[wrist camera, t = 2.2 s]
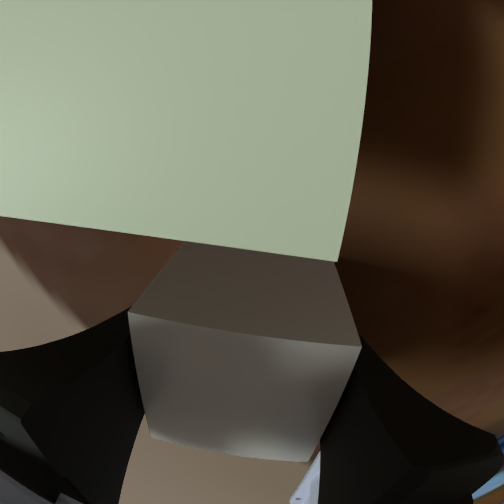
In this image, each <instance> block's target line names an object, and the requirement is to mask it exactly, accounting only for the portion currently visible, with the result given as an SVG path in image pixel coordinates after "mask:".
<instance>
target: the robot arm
mask: <svg viewBox="0 0 504 504" xmlns="http://www.w3.org/2000/svg"><path fill="white" fill-rule="evenodd" d="M131 307H132V306H131ZM131 307H130V308H131ZM130 308H128V309H126V310H124V311H123V312H121V313H119V314H117V315H115V316H113V317H111V318H110V319H108V320H106V321H104V322H102V323H100V324H98V325H96V326H94V327H91V328H89V329H87V330H85V331H82V332H80V333H77V334H75V335H72V336H69V337H66V338H64V339H60V340H57V341H54V342H50V343H47V344H43V345H39V346H35V347H30V348H25V349H19V350H13V351H6V352H0V504H118V503H119V498H120V494H121V489H122V484H123V480H124V476H125V473H126V469H127V465H128V462H129V458H130V455H131V452H132V448H133V445H134V442H135V439H136V435H137V433H138V430H139V427H140V424H141V421H142V419H143V416H144V414H145V411H144V406H143V402H142V397H141V392H140V387H139V382H138V377H137V371H136V366H135V360H134V354H133V348H132V341H131V334H130V327H129V319H128V311H129V309H130ZM358 335H359V339H360V342H361V345H362V348H361V350H360V353H359V355H358V358H357V360H356V363H355V365H354V368H353V370H352V372H351V375H350V377H349V379H348V382H347V384H346V386H345V389H344V391H343V393H342V395H341V397H340V400H339V402H338V404H337V406H336V408H335V410H334V412H333V414H332V416H331V418H330V421H329V423H328V425H327V427H326V429H325V430H324V432H323V434H322V436H321V438H320V452H319V453H318V455H317V457H316V458H315V460H314V462H313V464H312V465H311V467H310V469H309V470H308V472H307V473H306V475H305V477H304V478H303V480H302V481H301V483H300V485H299V486H298V488H297V489H296V491H295V492H294V494H293V496H292V497H291V499H290V503H291V504H473V503H474V502H473V498H472V495H471V494H473V493H474V492H475V491H477V490H478V489H479V488H480V487H481V486H483V485H484V484H485V483H486V482H487V481H489V480H490V479H491V478H492V477H493V476H494V475H495V474H496V473H497V472H498V471H499V470H500V468H501V467H502V465H503V463H504V455H503V453H502V451H501V448H500V446H499V443H498V441H497V439H496V437H495V435H494V434H491V433H489V432H486V431H484V430H482V429H479V428H477V427H474V426H472V425H470V424H468V423H466V422H464V421H462V420H460V419H458V418H456V417H454V416H453V415H451V414H449V413H447V412H446V411H444V410H442V409H441V408H439V407H438V406H436V405H435V404H433V403H432V402H430V401H429V400H427V399H426V398H425V397H423V396H422V395H421V394H419V393H418V392H417V391H415V390H414V389H413V388H412V387H411V386H409V385H408V384H407V383H406V382H405V381H403V380H402V379H401V378H400V377H399V376H398V375H397V374H396V373H395V372H394V371H393V370H392V369H391V368H390V367H389V366H388V365H387V364H386V363H385V362H384V361H383V360H382V359H381V358H380V357H379V356H378V355H377V354H376V353H375V352H374V351H373V350H372V348H371V347H370V346H369V345H368V344H367V343H366V341H365V340H364V339H363V338H362V337H361V336H360V334H359V333H358ZM498 504H504V500H503V501H501V502H500V503H498Z"/></svg>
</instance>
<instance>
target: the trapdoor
mask: <svg viewBox="0 0 504 504" xmlns="http://www.w3.org/2000/svg"><path fill="white" fill-rule="evenodd" d="M371 23H372V0H0V216H5V217H13V218H20V219H28V220H35V221H42V222H50V223H57V224H65V225H72V226H79V227H87V228H94V229H102V230H109V231H116V232H124V233H131V234H138V235H146V236H153V237H160V238H168V239H175V240H182V241H189V242H197V243H204V244H211V245H219V246H226V247H233V248H240V249H248V250H255V251H262V252H269V253H277V254H284V255H291V256H298V257H305V258H313V259H320V260H327V261H334V262H337V261H338V256H339V252H340V247H341V243H342V238H343V234H344V229H345V224H346V219H347V214H348V209H349V204H350V199H351V193H352V188H353V182H354V176H355V170H356V164H357V158H358V152H359V145H360V138H361V131H362V123H363V116H364V107H365V99H366V89H367V79H368V68H369V56H370V42H371Z"/></svg>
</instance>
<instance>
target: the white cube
mask: <svg viewBox="0 0 504 504" xmlns="http://www.w3.org/2000/svg"><path fill="white" fill-rule="evenodd" d="M128 319H129V327H130V334H131V341H132V348H133V354H134V360H135V366H136V371H137V377H138V382H139V387H140V392H141V397H142V402H143V406H144V411H145V415H146V419H147V423H148V428H149V432H150V436H151V437H152V438H156V439H160V440H164V441H167V442H172V443H175V444H179V445H184V446H189V447H193V448H198V449H202V450H208V451H213V452H219V453H225V454H232V455H237V456H245V457H253V458H261V459H271V460H283V461H299V462H308V460H309V459H310V457H311V455H312V453H313V451H314V450H315V448H316V446H317V444H318V442H319V440H320V438H321V436H322V434H323V432H324V430H325V429H326V427H327V425H328V423H329V421H330V418H331V416H332V414H333V412H334V410H335V408H336V406H337V404H338V402H339V400H340V397H341V395H342V393H343V391H344V389H345V386H346V384H347V382H348V379H349V377H350V375H351V372H352V370H353V368H354V365H355V363H356V360H357V358H358V355H359V353H360V350H361V348H362V345H361V342H360V339H359V335H358V332H357V329H356V326H355V323H354V320H353V317H352V313H351V310H350V307H349V304H348V301H347V298H346V295H345V293H344V290H343V287H342V284H341V281H340V278H339V275H338V272H337V270H336V267H335V264H334V261H327V260H320V259H313V258H305V257H298V256H291V255H284V254H277V253H269V252H262V251H255V250H248V249H240V248H233V247H226V246H219V245H211V244H204V243H197V242H189V241H185V242H184V243H183V245H182V246H181V247H180V248H179V249H178V250H177V252H176V253H175V254H174V255H173V256H172V258H171V259H170V260H169V261H168V262H167V264H166V265H165V266H164V267H163V268H162V270H161V271H160V272H159V273H158V275H157V276H156V277H155V278H154V279H153V281H152V282H151V283H150V284H149V286H148V287H147V288H146V289H145V291H144V292H143V293H142V294H141V296H140V297H139V298H138V299H137V301H136V302H135V303H134V304H133V306H132V307H131V308H130V309H129V311H128Z"/></svg>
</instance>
